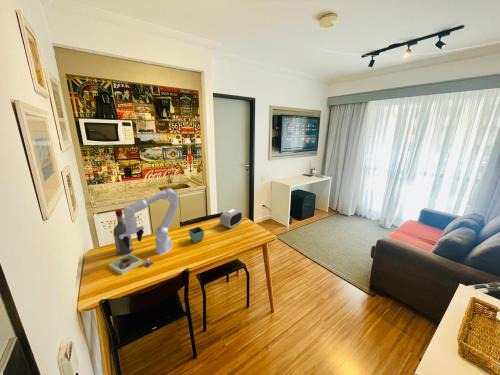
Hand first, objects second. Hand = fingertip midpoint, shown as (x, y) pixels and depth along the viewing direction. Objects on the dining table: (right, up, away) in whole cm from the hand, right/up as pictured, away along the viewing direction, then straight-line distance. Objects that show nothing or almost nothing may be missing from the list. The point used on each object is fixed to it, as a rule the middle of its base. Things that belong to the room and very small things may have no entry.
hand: (133, 244), depth 129 cm
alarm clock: (+57, +2, +52) cm, 78 cm away
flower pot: (+33, -5, +25) cm, 42 cm away
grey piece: (+10, -12, -3) cm, 16 cm away
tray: (-2, -12, -4) cm, 13 cm away
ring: (-2, -12, -5) cm, 13 cm away
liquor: (-11, -8, +10) cm, 17 cm away
